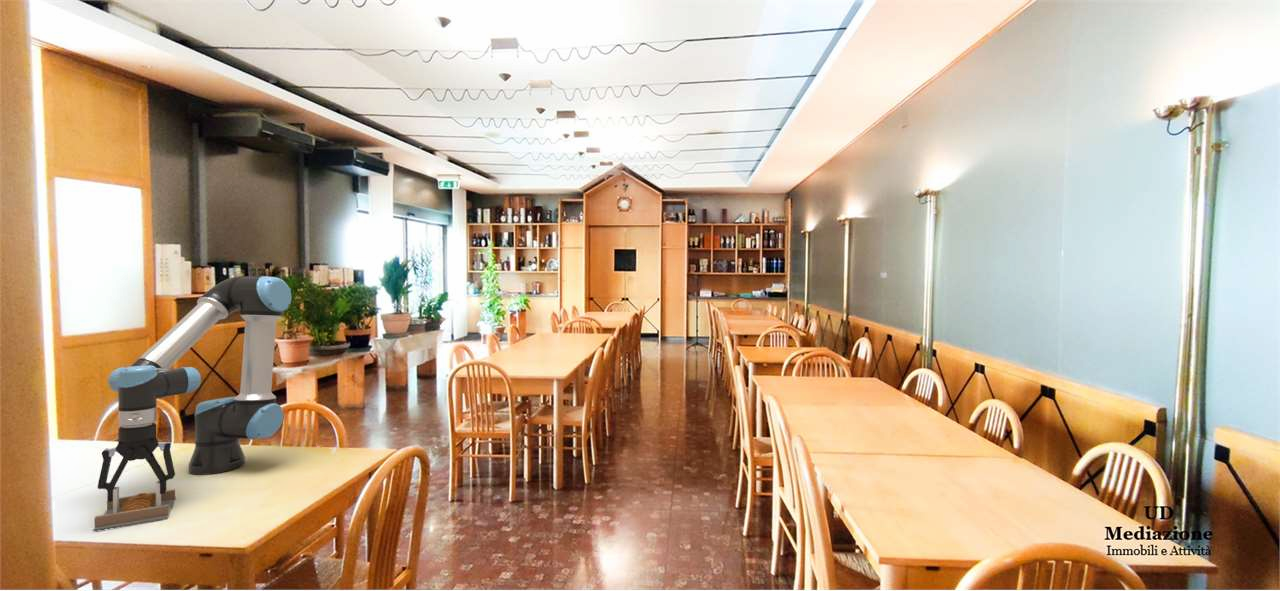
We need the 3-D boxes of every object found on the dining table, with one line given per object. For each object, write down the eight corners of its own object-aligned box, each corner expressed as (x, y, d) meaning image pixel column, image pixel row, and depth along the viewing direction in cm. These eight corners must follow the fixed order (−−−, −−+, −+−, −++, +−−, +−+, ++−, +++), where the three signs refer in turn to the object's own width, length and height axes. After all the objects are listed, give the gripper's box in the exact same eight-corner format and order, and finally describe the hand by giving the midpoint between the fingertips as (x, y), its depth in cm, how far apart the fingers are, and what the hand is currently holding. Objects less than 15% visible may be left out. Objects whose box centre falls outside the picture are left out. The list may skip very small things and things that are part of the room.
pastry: (150, 515, 145) (150, 501, 145) (115, 521, 141) (115, 506, 141) (157, 503, 153) (157, 490, 153) (124, 508, 149) (124, 494, 149)
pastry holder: (175, 498, 158) (175, 487, 158) (167, 519, 144) (167, 507, 144) (109, 509, 150) (109, 497, 150) (93, 532, 136) (93, 519, 136)
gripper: (79, 432, 138) (79, 523, 138) (185, 422, 150) (185, 505, 150) (87, 426, 144) (87, 513, 144) (189, 416, 156) (188, 497, 156)
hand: (137, 509), depth 147 cm, fingers open, 8 cm apart
